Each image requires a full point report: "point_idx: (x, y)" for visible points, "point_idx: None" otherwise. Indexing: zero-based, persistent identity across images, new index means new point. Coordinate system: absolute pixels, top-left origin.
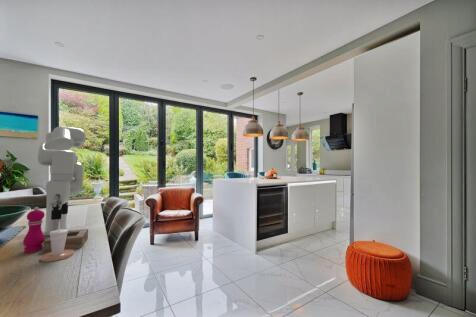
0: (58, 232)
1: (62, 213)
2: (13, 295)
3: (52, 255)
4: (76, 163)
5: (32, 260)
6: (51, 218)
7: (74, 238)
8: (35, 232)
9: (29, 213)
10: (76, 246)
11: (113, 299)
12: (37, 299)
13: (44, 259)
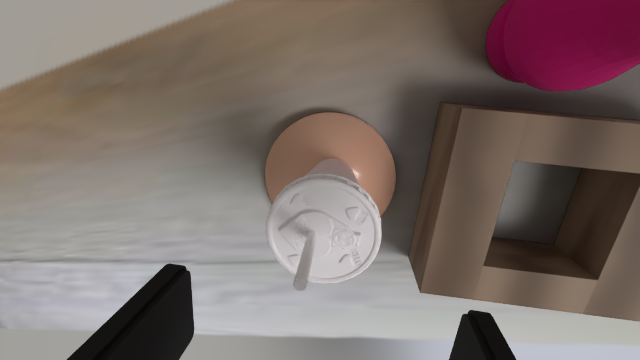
0: (284, 235)
1: (458, 350)
2: (4, 111)
3: (317, 161)
4: None
5: (331, 80)
6: (161, 272)
7: (426, 258)
8: (581, 30)
9: None
10: (414, 243)
11: None
12: None
13: (277, 138)
